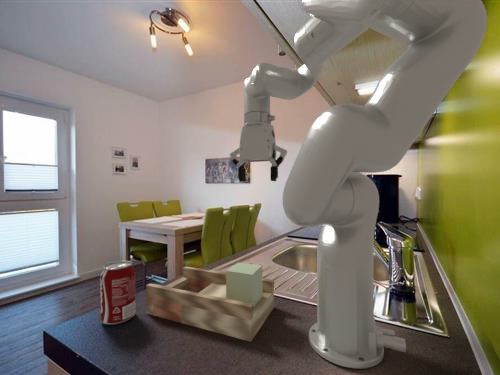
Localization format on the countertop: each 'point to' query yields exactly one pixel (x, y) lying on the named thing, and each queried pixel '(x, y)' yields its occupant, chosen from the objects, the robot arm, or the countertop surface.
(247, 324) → the channel track
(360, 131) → the robot arm
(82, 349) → the countertop surface
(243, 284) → the sage block
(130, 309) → the soda can
